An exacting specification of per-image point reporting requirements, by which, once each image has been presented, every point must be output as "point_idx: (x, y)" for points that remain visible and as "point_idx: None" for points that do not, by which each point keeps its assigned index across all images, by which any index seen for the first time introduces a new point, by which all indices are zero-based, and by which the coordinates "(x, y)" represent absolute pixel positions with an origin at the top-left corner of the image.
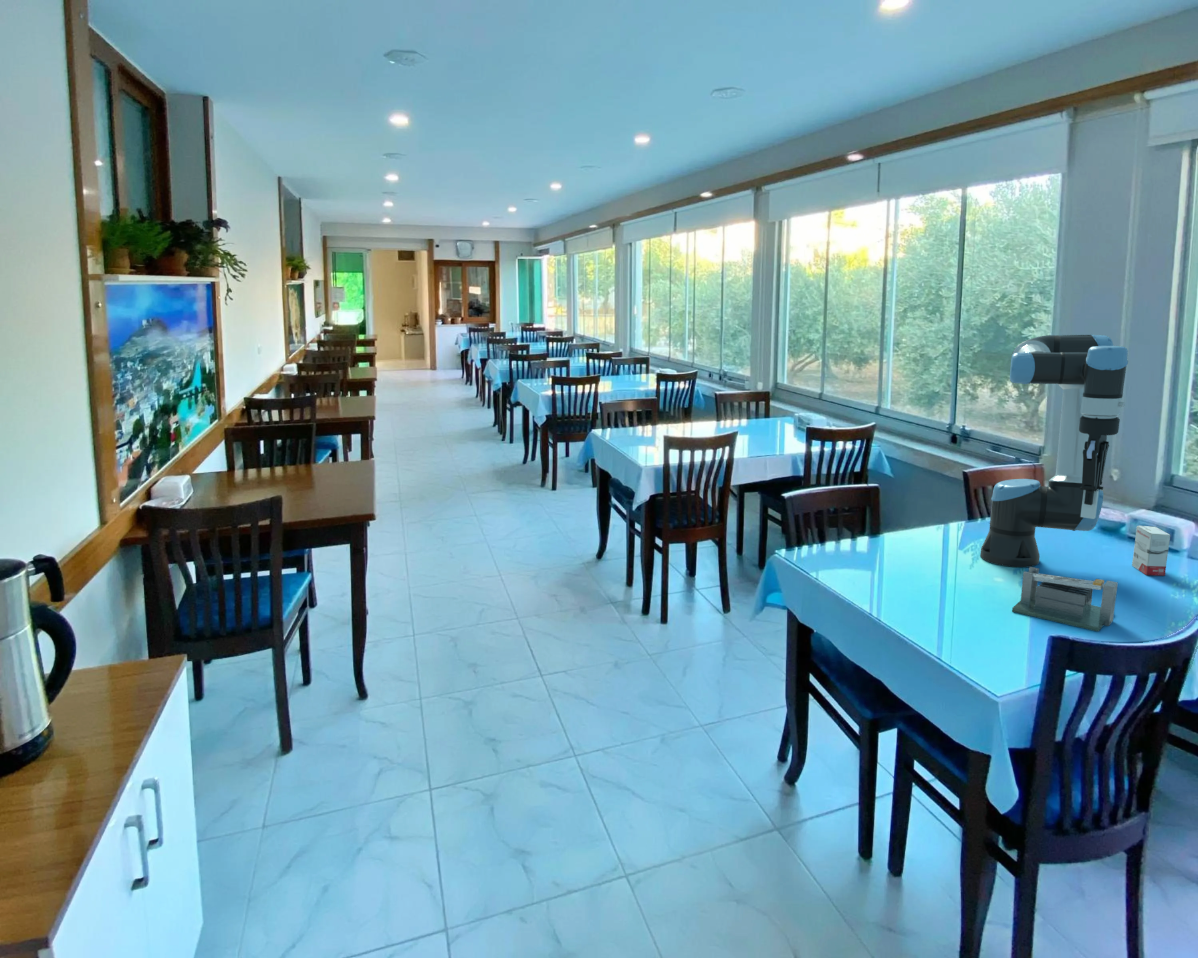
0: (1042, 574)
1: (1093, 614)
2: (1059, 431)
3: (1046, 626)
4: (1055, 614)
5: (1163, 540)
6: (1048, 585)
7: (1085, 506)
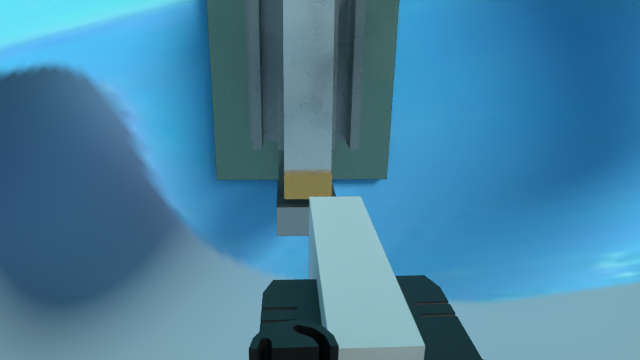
0: None
1: None
2: None
3: (156, 58)
4: (238, 63)
5: None
6: None
7: (314, 265)
